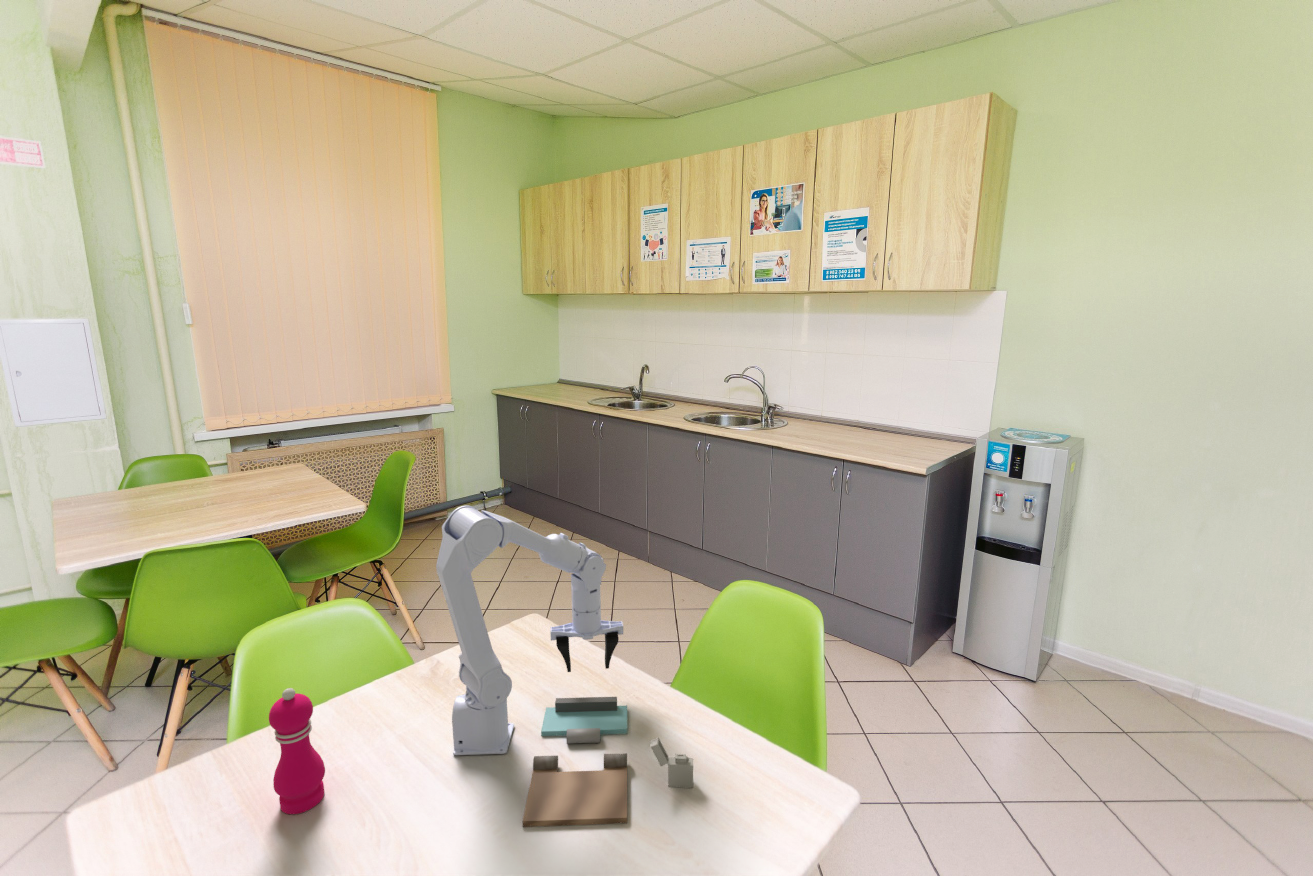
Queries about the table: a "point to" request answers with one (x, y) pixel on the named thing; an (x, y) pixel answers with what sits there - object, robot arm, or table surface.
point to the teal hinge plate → (585, 719)
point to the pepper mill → (296, 754)
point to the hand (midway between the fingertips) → (588, 667)
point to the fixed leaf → (577, 794)
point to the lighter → (674, 766)
